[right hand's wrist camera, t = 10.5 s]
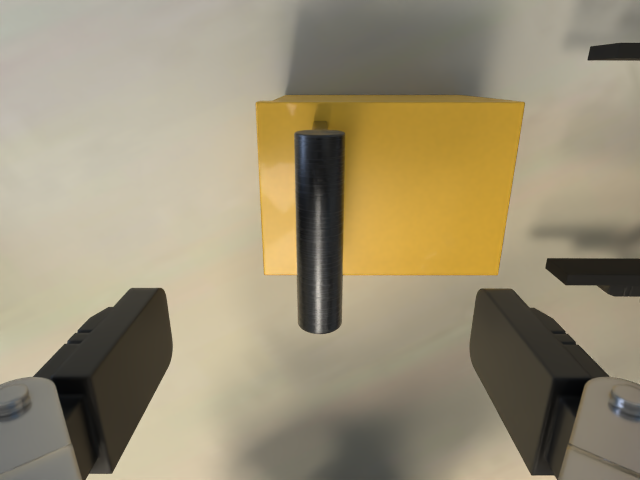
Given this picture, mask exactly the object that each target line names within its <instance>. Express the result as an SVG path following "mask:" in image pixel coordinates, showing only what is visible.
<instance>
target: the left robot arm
mask: <svg viewBox="0 0 640 480" xmlns="http://www.w3.org/2000/svg"><path fill="white" fill-rule="evenodd" d="M588 60H640V43H615V44H607V45H599V46H591V47H590V51H589V56H588ZM546 269H547V270H548V271H549V272H551V273H552V274H553V275H554V276H555V277H557V278H558V279H559V280H560V281H561V282H563V283H564V284H565V285H597V286H598V287H599V288H601V289H602V290H603V291H605V292H606V293H607V294H610V295H612V296H640V259H582V258H547V263H546Z"/></svg>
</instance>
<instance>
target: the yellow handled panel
mask: <svg viewBox="0 0 640 480" xmlns="http://www.w3.org/2000/svg"><path fill="white" fill-rule="evenodd" d="M524 106H525V102H520V101H258V102H256V122H257V143H258V163H259V183H260V203H261V223H262V243H263V263H264V275H297V299H298V324H299V326H300V327H301V328H302V329H303V330H305V331H307V332H310V333H314V334H326V333H330V332H333V331H335V330H337V329H338V328H339V327H340V325H341V323H342V281H343V275H498V270H499V264H500V258H501V251H502V245H503V239H504V232H505V226H506V220H507V214H508V207H509V201H510V195H511V188H512V182H513V176H514V169H515V163H516V157H517V150H518V144H519V138H520V131H521V125H522V119H523V112H524Z"/></svg>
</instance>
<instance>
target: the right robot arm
mask: <svg viewBox="0 0 640 480" xmlns="http://www.w3.org/2000/svg"><path fill="white" fill-rule="evenodd" d="M172 349H173V342H172V334H171V327H170V320H169V313H168V306H167V298H166V294H165V291H164V290H163V289H162V288H131V289H129V290H128V291H127V293H126V294H125V295H124V296H123V297H122V298H121V299H120V300H119V301H118V302H117V304H116V305H115V306H114V307H108V308H106V309H104V310H103V311H101V312H99V313H98V314H96V315H94V316H92V317H91V318H89V319H88V320H87V321H86V322H85V323H84V325H83V326H82V327H81V328H80V329H79V330H78V333H75V334H74V335H73V336H72V337H71V338H70V339H69V340H68V342H67V344H64V345H63V346H62V347H61V348H60V349H59V350H58V351H57V352H56V353H55V354H54V356H53V357H52V358H51V359H50V360H49V361H48V362H47V363H46V364H45V365H44V366H43V367H42V368H41V369H40V370H39V371H38V372H37V373H36V374H35V375H34V376H33V377H27V378H21V379H16V380H12V381H9V382H6V383H3V384H1V385H0V480H86V478H87V476H88V474H112V473H113V471H114V469H115V467H116V465H117V463H118V461H119V459H120V457H121V456H122V454H123V452H124V450H125V448H126V446H127V444H128V442H129V440H130V439H131V437H132V435H133V433H134V431H135V429H136V427H137V425H138V423H139V421H140V420H141V418H142V416H143V414H144V412H145V410H146V408H147V406H148V404H149V403H150V401H151V399H152V397H153V395H154V393H155V391H156V389H157V387H158V386H159V384H160V382H161V380H162V378H163V376H164V374H165V372H166V370H167V369H168V367H169V364H170V361H171V357H172ZM470 357H471V361H472V364H473V367H474V369H475V371H476V372H477V374H478V376H479V378H480V380H481V382H482V384H483V386H484V387H485V389H486V391H487V393H488V395H489V397H490V399H491V401H492V402H493V404H494V406H495V408H496V410H497V412H498V414H499V415H500V417H501V419H502V421H503V423H504V425H505V427H506V429H507V430H508V432H509V434H510V436H511V438H512V440H513V442H514V444H515V445H516V447H517V449H518V451H519V453H520V455H521V457H522V458H523V460H524V462H525V464H526V466H527V468H528V470H529V472H530V473H531V475H555V477H556V478H557V480H640V385H639V384H637V383H634V382H631V381H628V380H624V379H619V378H613V377H609V376H608V375H607V374H606V373H605V372H604V370H603V369H602V368H601V367H600V366H599V365H598V364H597V363H596V362H595V361H594V360H593V359H592V358H591V357H590V356H589V355H588V354H587V353H586V352H585V351H584V350H583V349H582V348H581V347H580V346H579V345H576V342H575V341H574V340H573V339H572V338H571V337H570V336H569V335H568V334H566V333H565V331H564V329H563V328H562V327H561V326H560V325H559V324H558V323H557V322H556V321H555V320H554V319H553V318H551V317H549V316H547V315H546V314H544V313H542V312H540V311H539V310H537V309H535V308H529V307H528V306H527V305H526V303H525V302H524V301H523V300H522V299H521V298H520V297H519V296H518V295H517V294H516V293H515V291H514V290H512V289H480V290H479V291H478V293H477V296H476V302H475V309H474V316H473V323H472V330H471V337H470Z"/></svg>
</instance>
